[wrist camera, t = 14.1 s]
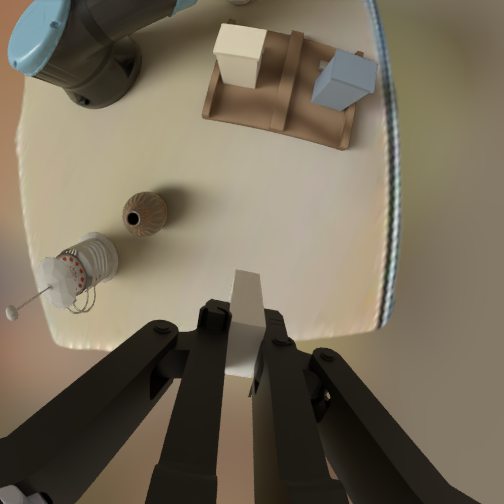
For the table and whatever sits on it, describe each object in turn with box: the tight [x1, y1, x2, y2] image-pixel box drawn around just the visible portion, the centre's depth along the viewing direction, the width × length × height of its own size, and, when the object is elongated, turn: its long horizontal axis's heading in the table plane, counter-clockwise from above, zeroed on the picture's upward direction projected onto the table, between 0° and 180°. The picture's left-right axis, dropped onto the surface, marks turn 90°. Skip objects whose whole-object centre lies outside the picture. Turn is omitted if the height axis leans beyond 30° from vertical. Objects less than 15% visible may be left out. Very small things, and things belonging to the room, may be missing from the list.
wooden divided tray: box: [202, 19, 363, 151], centre depth 39 cm, size 18×23×4 cm
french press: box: [6, 232, 119, 321], centre depth 35 cm, size 10×12×25 cm
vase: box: [123, 192, 168, 237], centre depth 41 cm, size 7×7×9 cm
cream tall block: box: [213, 23, 267, 89], centre depth 32 cm, size 4×5×13 cm
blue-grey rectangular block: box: [311, 49, 378, 111], centre depth 33 cm, size 4×5×13 cm
